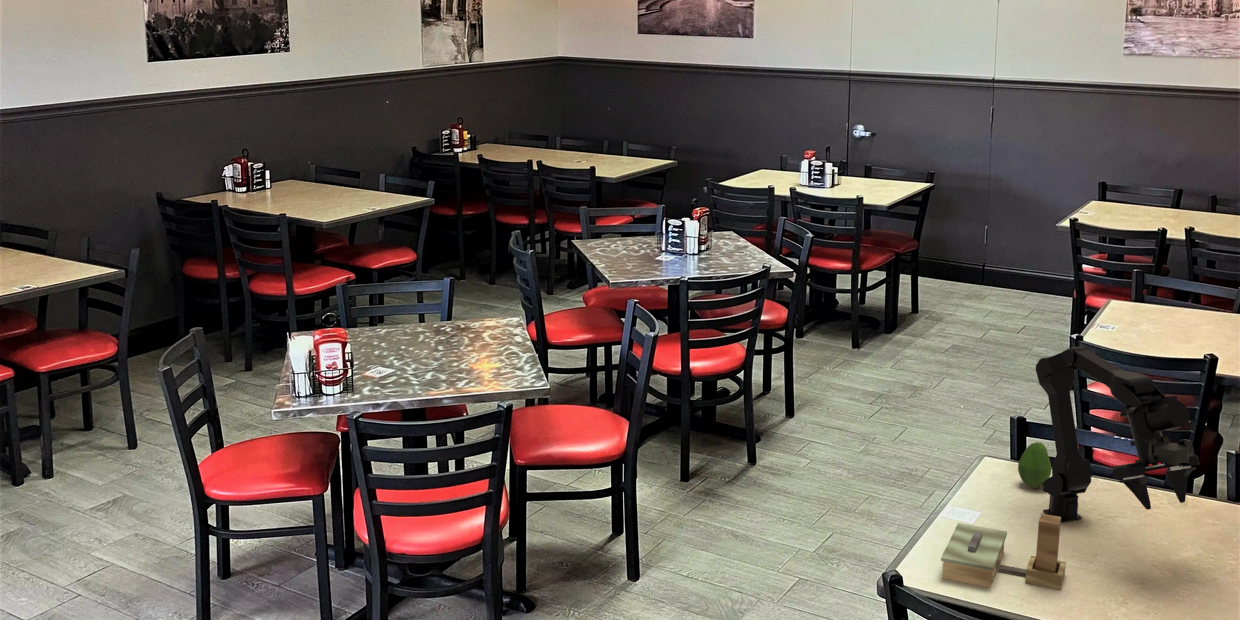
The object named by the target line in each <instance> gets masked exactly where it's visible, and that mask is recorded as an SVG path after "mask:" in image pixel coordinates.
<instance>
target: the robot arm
mask: <svg viewBox="0 0 1240 620" xmlns="http://www.w3.org/2000/svg"><path fill="white" fill-rule="evenodd" d="M1078 370H1079V371H1081V372H1083V373H1085V374H1086V375H1088V376H1090V377H1091V378H1093V379H1095V380H1096V381H1099V382H1100V383H1102V384H1103V385H1105V386H1106V387H1107V388H1109V391H1110V394H1111V395H1112V396H1113V397H1114V398H1115V399H1116V400H1117V401H1118V402H1120V403H1121V405H1122V404H1123V405H1124V408H1123V409H1122V411H1121V412H1120V414H1119V416H1120V417H1121V418H1124V417H1127V419H1128V422H1129V427H1130V430H1131V434H1132V438H1133V440H1131V441H1130V443H1129V444H1130V446H1131V447H1135V450H1136V453H1137V458H1138V459H1135V460H1134V462H1130V463H1125V464H1119V465H1113V468H1112V470H1111V474H1112V477H1113V480H1119V483H1122V484H1124V485H1125V486H1126V488H1128V490H1129V491H1130V492H1131V493H1132V494H1133V495H1134V496H1135V498H1137V500H1138V501H1139V502H1140V503H1141V505H1142V506H1143V507H1144V508H1145V509H1146V510H1151V509H1152V506H1151V499H1150V495H1149V490H1148V486H1147V484H1148V483H1147V482H1148V480H1149V475H1145V474H1146V473H1147V472H1153V471H1157V470H1164V469H1169V470H1167V471H1166V472H1165V473H1166V474H1167V477H1168V480H1169V481H1170V485H1171V486H1172V489H1173V490H1174V493H1175V496H1176V497H1177V500H1178V501H1179V503H1180V504H1181V503H1182V504H1183V503H1185V502H1186V496H1187V489H1188V487H1187V486H1188V480H1189V477H1190V475H1191V473H1192V472H1193V471H1195V470H1196V466H1197V465H1198V466H1199V465H1200V461H1199V457H1198V455H1197V454H1196V453H1195V450H1194V446H1193V442H1192V440H1190V439H1187V438H1184V439H1180V440H1178V442H1170V438H1169V437H1168V436H1167V435H1165V434H1164V435H1163V433H1162V432H1164V431H1169V430H1174V429H1180V428H1181V429H1182V428H1184V427H1186V426H1188V424H1189V422H1190V420H1191V416H1190V410H1189V409H1188V407H1187V406H1186V405H1185V404H1184V402H1182V401H1180V400H1178V396H1177V395H1176V394H1174V395H1170V396H1169V395H1168V396H1167V395H1166V394H1165V393H1163V391H1161V390H1160V388H1159V387H1158V386H1157V385H1156V384H1155V383H1154V380H1153V379H1152V378H1151V377H1150V376H1148V375H1145V374H1142V373H1140V372H1133V371H1127V370H1124V369H1121V368H1120V367H1118V366H1117V365H1115V364H1113V363H1111V362H1109V361H1108V360H1106V359H1105V358H1103V357H1101V356H1099V355H1097V354H1096V353H1094V352H1092V351H1090V349H1089V348H1088V347H1086V346H1082V345H1081V346H1076V347H1068V348H1067V349H1064V350H1063V351H1061V352H1059V353H1057V354H1055V355H1052V356H1046V357H1042V358H1040V359H1038V361H1037V363H1036V364H1035V372H1036V377H1037V380H1038V383H1039V385H1040V387H1041V388H1042V389H1043V390H1044V392H1045V393H1046V395H1047V398H1048V404H1049V405H1048V406H1049V411H1050V418H1051V424H1052V431H1053V437H1054V445H1055V451H1056V452H1055V453H1056V454H1055V457H1054V460H1053V463H1052V464H1051V475H1050V477H1049V478H1048V479H1047V480H1046V481H1044V482H1043V486H1042V488H1043V492H1045V493H1046V494H1048V495H1049V503H1048V508H1046V509H1043V510H1042V512H1043V514H1046V515H1052V516H1058V517H1061V523H1066V522H1071V521H1077V520H1082V519H1083V517H1082V516H1081V515H1080V514H1079V512H1078V510H1079V495H1078V494H1084V493H1086V492H1087V489H1088V487H1089V486H1090V484H1091V483H1092V477H1093V472H1092V469H1091V461H1090V459H1088V458H1085V457H1083V455H1082V454H1081V453H1080V450H1079V443H1078V437H1077V431H1076V423H1075V417H1074V411H1073V405H1072V404H1073V403H1072V398H1071V391H1072V387H1073V386H1074V383H1075V381H1076V375H1075V374H1076V371H1078ZM1193 466H1194V467H1193ZM1144 475H1145V476H1144Z"/></svg>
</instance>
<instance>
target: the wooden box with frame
mask: <svg viewBox="0 0 1240 620" xmlns="http://www.w3.org/2000/svg"><path fill="white" fill-rule="evenodd" d="M1007 535H1008V531H1007V530H1001V529H997V528H990V527H986V526H978V525H974V524H970V523H969V524H968V523H962V522H958V523H957V525H956V526H955V529H954V530H953V533H952V535H951V537H950V539H949V541H948V543H947V545H946V547H945V548H944V551H943V553H942V555H941V557H940V562H942V576H941V578H942V579H945V580H949V581H955V582H959V583H965V584H971V585H975V586H980V587H983V588H984V587H985V588H991V586H992V584H993V581H994V578H995V575H996V573H997V572H999V573H1004V574H1009V575H1015V576H1019V577H1024V578H1025V582H1024V583H1026V584H1030V585H1035V586H1036V585H1037V586H1042V587H1045V588H1046V587H1047V588H1051V589H1056V590H1062V587H1063V582H1064V579H1065V575H1066V565H1067V562H1066V561H1064V560H1058V559H1057V571H1056V573H1052V572H1046V571H1041V570H1036V569H1035V563H1036V555H1030V557H1029V560H1028V563H1027V567H1026V568H1021V567H1015V566H1011V565H1005V564H1000V563H1001V560H1002V557H1003V555H1004V551H1005V541H1006V538H1007Z"/></svg>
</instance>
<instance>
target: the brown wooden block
mask: <svg viewBox="0 0 1240 620" xmlns="http://www.w3.org/2000/svg"><path fill="white" fill-rule="evenodd" d="M1061 523H1062V522H1061V517H1058V516H1052V515H1047V514H1045V513H1041V514H1040V517H1039V520H1038V527H1037V540H1036V550H1035V551H1036V552H1035V556H1036V563H1035V569H1036V570H1041V571H1046V572H1052V573H1056V571H1057V560H1058V556H1059V547H1060V546H1059V544H1060V533H1061Z"/></svg>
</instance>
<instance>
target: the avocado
mask: <svg viewBox="0 0 1240 620" xmlns="http://www.w3.org/2000/svg"><path fill="white" fill-rule="evenodd" d="M1017 466H1018V467H1017V472H1018V475H1019V477H1020V479H1021V480H1022V482H1023V483H1024V484H1025V485H1026V486H1028V487H1029V488H1032V489H1039V488H1041V487H1042V488H1043V482H1044V481H1046V480H1047V479H1048V478H1050V477H1051V476H1052V464H1051V460H1050V457H1049V453H1048V449H1047V448H1046V445H1045V444H1044V443H1042V442H1039V441H1036V442H1032V443H1030V444H1029V445H1028V446H1027V447H1026V449H1025V450H1024V452H1023V453H1022V454H1021V456H1020V459H1019V460H1018V463H1017Z"/></svg>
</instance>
